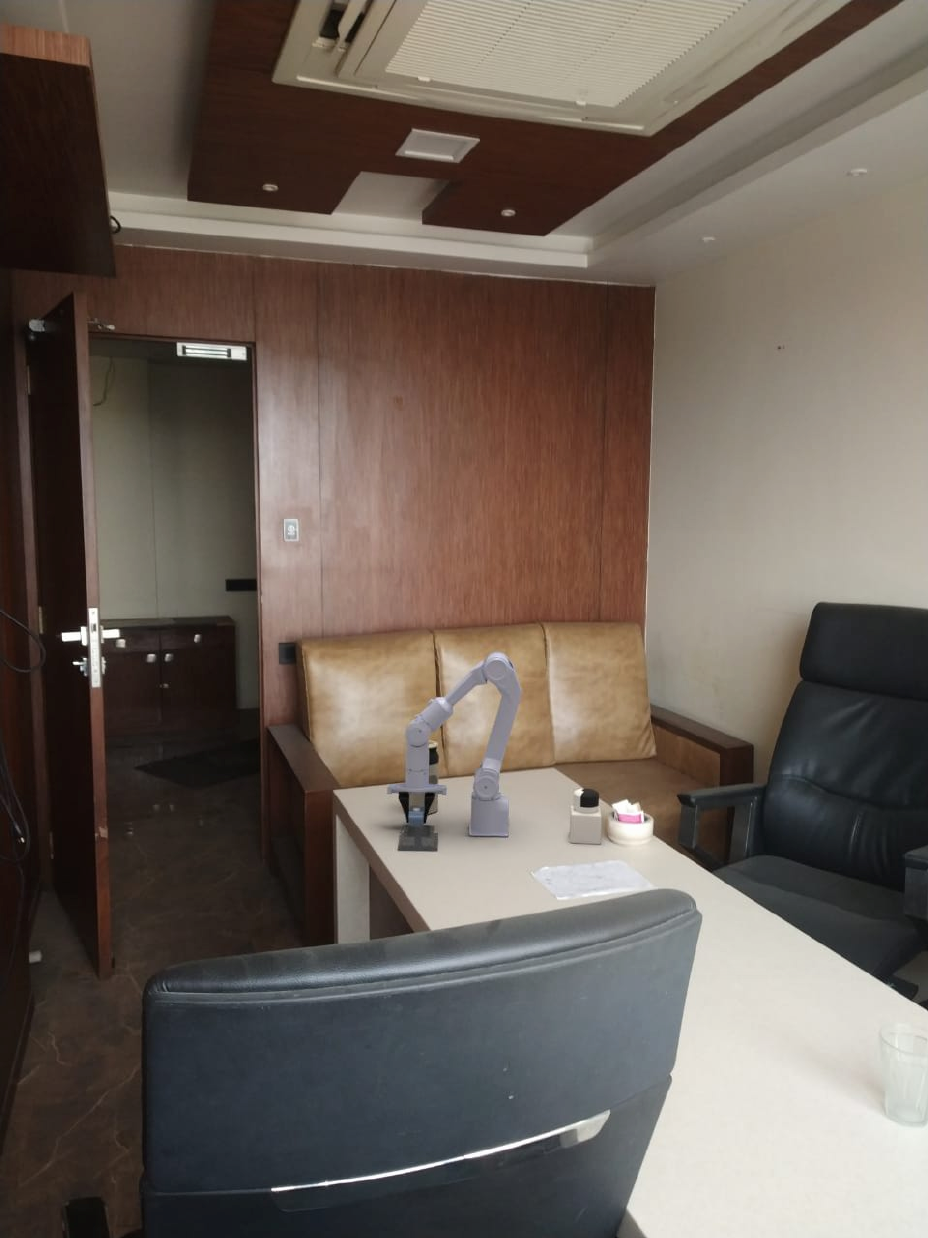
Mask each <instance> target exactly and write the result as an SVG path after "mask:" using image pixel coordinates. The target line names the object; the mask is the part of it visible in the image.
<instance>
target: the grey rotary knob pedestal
mask: <svg viewBox="0 0 928 1238" xmlns="http://www.w3.org/2000/svg"><path fill="white" fill-rule="evenodd" d="M599 805H600V793H599V792H598V791H596V790H594V789H592V788H579V789H576V790H575V791H574V792H573V805H572V804H571V805H570V817H569V818H570V819H569V842H570V844H582V845H583V844H585V845H601V843H602V842H601V839H602V838H601V837H602V819H603V818H602V812H601V811H602V810H601V807H600V806H599Z"/></svg>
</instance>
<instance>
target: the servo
mask: <svg viewBox="0 0 928 1238" xmlns="http://www.w3.org/2000/svg"><path fill="white" fill-rule="evenodd" d="M408 819H409V823H408V825H425V824H424V806H419V805H410V808H409V817H408Z"/></svg>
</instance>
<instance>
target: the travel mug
mask: <svg viewBox="0 0 928 1238" xmlns="http://www.w3.org/2000/svg"><path fill="white" fill-rule="evenodd" d="M438 746H439V743H438V742H437V741H434V740H429V743H428V749H429V784H436V785H439V769H440V768H439V766H440V765H439V762H440V761H439V758H440V755H439V754H438V751H437V748H438ZM424 798H425V794H409V808H410V805H419V806H424ZM438 804H439V794H435V799H434V801H433V803H432V805H431V807H430V810H429V813H428V815H431V813H432V814H434V813H435V812H438V810H439V805H438Z"/></svg>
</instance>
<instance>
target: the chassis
mask: <svg viewBox="0 0 928 1238" xmlns="http://www.w3.org/2000/svg"><path fill="white" fill-rule="evenodd" d="M435 829H436V827H435V825H433V824H432V825H430V824H427V825H426V824H424V825H409V824H405V825H404V826H403V831H401V832H400V835H399V841H398V845H397V846H398V847H397V850H398V852H399V851H403V852H405V851H406V852H407V851H408V852H413V851H414V852H438V844H439V832H435Z"/></svg>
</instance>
